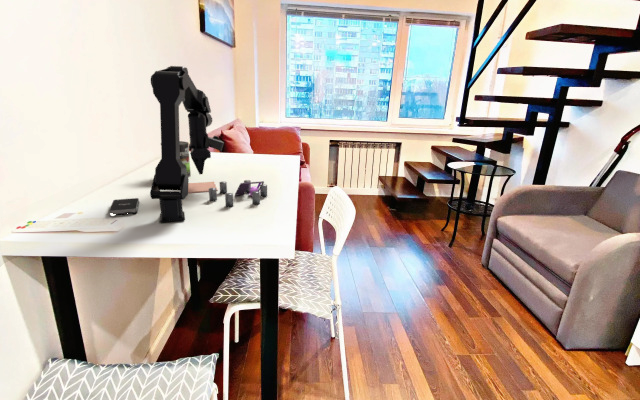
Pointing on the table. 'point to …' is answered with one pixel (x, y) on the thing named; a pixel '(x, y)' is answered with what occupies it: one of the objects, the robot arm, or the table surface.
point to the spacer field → (229, 196)
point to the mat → (200, 187)
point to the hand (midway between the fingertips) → (200, 173)
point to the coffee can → (185, 156)
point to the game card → (244, 186)
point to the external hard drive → (124, 206)
